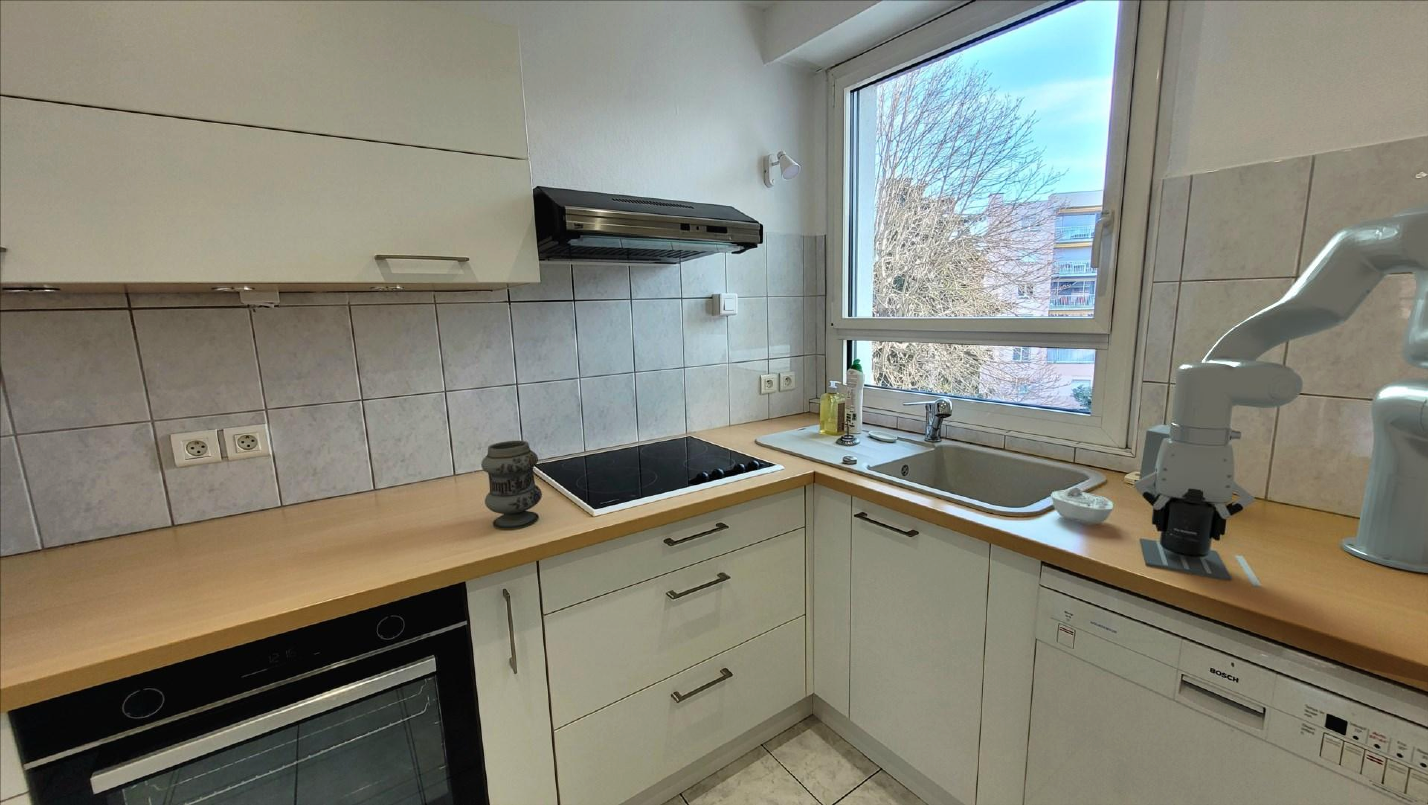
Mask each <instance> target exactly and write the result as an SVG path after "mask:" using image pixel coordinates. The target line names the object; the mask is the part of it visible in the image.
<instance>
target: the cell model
mask: <svg viewBox="0 0 1428 805" xmlns="http://www.w3.org/2000/svg"><path fill="white" fill-rule="evenodd" d="M1050 497H1051V500H1052V505H1053V507H1054V509H1055V511H1056V512H1057V513H1058V514H1059V516H1061V517H1062V518H1063V519H1067V520H1070V521H1075V522H1076V521H1077V522H1080V523H1083V524H1086V525H1087V526H1089V525H1090V526H1091V525H1097V524H1100V523H1102V522H1103V523H1104V522H1105V521H1107V519H1108V518H1109V516H1110V515H1111V513H1112V511H1113V510H1114V509H1115V506H1114V502H1113V501H1112V500H1110V499H1108V498H1106V497H1104V496H1101V495H1097V494H1093V493H1088V492H1085V491H1081V489H1079V487H1073V486H1072V487H1069V488H1067V489H1061V490H1055V491H1053V492H1052V493H1051V494H1050Z"/></svg>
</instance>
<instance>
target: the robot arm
mask: <svg viewBox="0 0 1428 805" xmlns="http://www.w3.org/2000/svg"><path fill="white" fill-rule="evenodd" d="M1394 273H1395V274H1396V273H1412V274H1413V276H1414V280H1415V292H1414V297H1413V303H1412V306H1411V309H1410V313H1409V317H1408V322H1407V324H1406V328H1405V331H1404V332H1405V333H1404V335H1403V340H1402V346H1401V357H1402V359H1403V361H1405V363H1406V364H1408V365H1410V366H1411V367H1415V368H1418V369H1423V370H1428V203H1426V204H1421V205H1417V206H1413V207H1409V208H1407V209H1404V210H1401V211H1399V212H1397V213H1395V214H1394V215H1393V216H1391V217H1386V218H1385V217H1384V218H1377V219H1371V220H1366V221H1360V222H1356V223H1353V224H1350V225H1347V226H1345V227H1344V228H1342V229H1340V230H1339V231H1338V232H1336V233H1335V234H1334V235H1333V236H1332V237H1331V238H1330V239H1329V240H1328V241H1327V243H1326V244H1325V245H1324V247H1323V248H1322V249H1321V250H1320V251H1319V252H1318V253H1317V255H1316V256H1315V257H1314V259H1313V260H1312V261H1311V262H1310V264H1308V266H1307V267H1306V269H1304V271H1303V272H1302V274H1301V275H1300V276H1299V277H1298V278H1297V280H1296V281H1295V282H1294V283H1293V284H1292V286H1290V288H1289V289H1288V290H1287V291H1286V293H1285V294H1284V295H1283V296H1282V297H1281V298H1280V299H1279V300H1277V301H1276V302H1274V303H1273V304H1270V305H1269V306H1267V307H1265V308H1264V309H1261V310H1260V311H1258V312H1257V313H1255V314H1254V315H1252V316H1250V317H1248V318H1247V319H1245V320H1244V321H1242V322H1240V323H1239V324H1238V325H1235V326H1234V327H1233V328H1231V329H1230V330H1229V331H1227V332H1226V333H1225V334H1224V335H1223V336H1222V337H1220V339H1218V341H1217V342H1216V343H1215V344H1214V345H1213V347H1212V348H1211V349H1210V350H1209V351H1208V353H1207V354H1206V355H1205V356H1204V358H1203V359H1202V360H1201V362H1200V361H1199V362H1187V363H1184V364H1181V365H1180V366H1179V367H1178V369H1177V371H1176V375H1175V385H1174V391H1173V392H1174V393H1173V400H1172V401H1173V402H1172V411H1171V420H1170V425H1169V426H1170V435H1169V438H1164V439H1163V441H1162V443H1161V446H1160V449H1159V453H1158V457H1157V462H1156V467H1155V472H1153V473H1151V474H1149V475H1147V476H1145V477H1143V478H1141V479H1139V478H1138V479H1137V480H1136V481H1134V482H1133V487H1134V488H1135V490H1136V491H1137V492H1138V493H1139V494H1140V495H1141V496H1142V498H1144V499H1145V501H1146V502H1147V503H1149V505H1151V506H1152V515H1151V525H1154V526H1155V528H1156V531H1157V532H1159V533H1161V531H1163V524H1164V516H1165V511H1164V508H1163V506H1164V505H1165V503H1166V502H1167V501H1168V500H1169V499H1170V498H1178V499H1182V498H1184V497H1182V496H1183V495H1185V493H1187V492H1188V489H1197V490H1201V492H1202V491H1203V498H1205V500H1202V501H1205V502H1210V503H1212V504H1213V505H1214V506H1215V508H1216V516H1215V523H1214V529H1213V536H1212V540H1214V541H1221V540H1220V539H1221V538H1220V537H1221V535H1222V536H1225V534H1226V526H1227V520H1228V519H1230V518H1231V517H1232V516H1234V515H1236V514H1238V513H1239V512H1241V511H1243V510H1244V509H1245V508H1247V507H1249V506H1251V505H1252V504H1254V503H1255V502H1256V497H1254V495H1252V494H1251V493H1250V492H1248V491H1247V490H1246V489H1244V487H1242V486H1241V485H1239V484H1238V483H1237V482H1236V481H1235V454H1234V447H1233V445H1232V444H1230V442H1231V441H1232V440H1241V438H1242V431H1240V430H1239V431H1238V430H1236V429H1235V430H1234V429H1232V428H1231V423H1232V422H1231V421H1232V414H1233V407H1236V406H1239V407H1240V406H1241V407H1248V408H1249V407H1250V408H1251V407H1252V408H1261V409H1272V408H1279V407H1283V406H1285V405H1288V404H1289V403H1292V402H1293V401H1295V400H1296V399H1297V398H1298V397H1299V395H1300V394H1301V392H1302V390H1303V385H1304V383H1303V380H1302V377H1301V375H1300V374H1299V373H1298V372H1297V371H1296V370H1295V369H1293V368H1292V367H1289V366H1287V365H1285V364H1281V363H1277V362H1271V361H1260V360H1258V358H1260V357H1261V356H1262V355H1264V354H1266V352H1268V351H1270V350H1271V349H1273V348H1275V347H1277V346H1279V345H1282V344H1285V343H1288V342H1289V341H1292V340H1295V339H1299V338H1303V337H1307V336H1311V335H1315V334H1318V333H1321V332H1323V331H1324V332H1325V331H1327V330H1330V329H1333V328H1336V327H1339V326H1341V325H1342V324H1344V323H1346V322H1347V321H1349V319H1350V318H1351V317H1352V315H1353V314H1354V313H1355V312H1356V311H1357V310H1358V308H1359V307H1360V306H1361V305H1362V304H1363V303H1364V301H1365V300H1366V299H1367V298H1368V297H1369V295H1370V294H1371V293H1372V292H1373V291H1374V289H1375V288H1376V287H1377V286H1378V285H1379V284H1380V283H1381V282H1382V280H1383V279H1385V277H1386V276H1387V275H1389V274H1394ZM1370 409H1371V410H1370V411H1371V413H1370V414H1371V421H1372V429H1373V430H1372V431H1373V443H1372V452H1371V457H1370V463H1369V468H1368V474H1367V480H1366V485H1365V490H1364V496H1363V501H1362V506H1361V511H1360V512H1361V513H1360V517H1359V522H1358V527H1357V532H1356V533H1357V534H1356V536H1352V537H1351V536H1350V537H1346V538H1343V539H1342V542H1341V548H1342V549H1343V550H1344V551H1346V552H1348V553H1349V554H1351V555H1353V556H1355V557H1358V558H1360V559H1364V560H1366V561H1369V562H1371V563H1375V564H1379V565H1382V566H1387V567H1390V568H1395V569H1398V570H1399V569H1400V570H1403V571H1404V570H1405V571H1410V572H1416V573H1423V574H1428V378H1423V377H1417V378H1416V377H1415V378H1411V377H1410V378H1403V379H1399V380H1395V381H1391V382H1389V383H1388V384H1385V385H1384V386H1382V387H1381V388H1380V389H1379V390H1378V391H1377V392H1376V393H1375V394H1374V396H1373V398H1372V401H1371V406H1370ZM1152 483H1153V484H1154V487H1156V491H1157V493H1158V494H1157V495H1156V496H1155V495H1152V494H1151V493H1150V492H1149V491H1148V490H1147V489H1146V486H1148V485H1150V484H1152ZM1234 493H1235V494H1236V495H1237V496H1238V497H1239V498H1238V499H1237V500H1235V501H1232V499H1233V495H1234ZM1231 501H1232V502H1231ZM1229 502H1230V503H1229ZM1227 503H1228V504H1227Z"/></svg>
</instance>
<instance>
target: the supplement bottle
mask: <svg viewBox="0 0 1428 805" xmlns="http://www.w3.org/2000/svg"><path fill="white" fill-rule="evenodd" d="M1182 497H1184V498H1182V499H1178V498H1170V499H1169V500H1168V501H1167V502H1166V503H1165V505H1164V511H1165V516H1164V524H1163V531H1161V532H1160V536H1159V541H1160V544H1161V546H1162V547H1163V548H1164V549H1166V550H1168V551H1170V552H1173V553H1176V554H1179V555H1183V556H1188V557H1205V556H1207V555H1209V553H1210V550H1211V548H1212V542H1213V538H1212V536H1213V529H1214V523H1215V516H1216V511H1217V509H1216V507H1215V506H1214V504H1213V503H1210V502H1205V501H1202V500H1205V498H1203V491H1202V492H1201V490H1197V489H1188V492H1187V493H1185V495H1183V496H1182Z"/></svg>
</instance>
